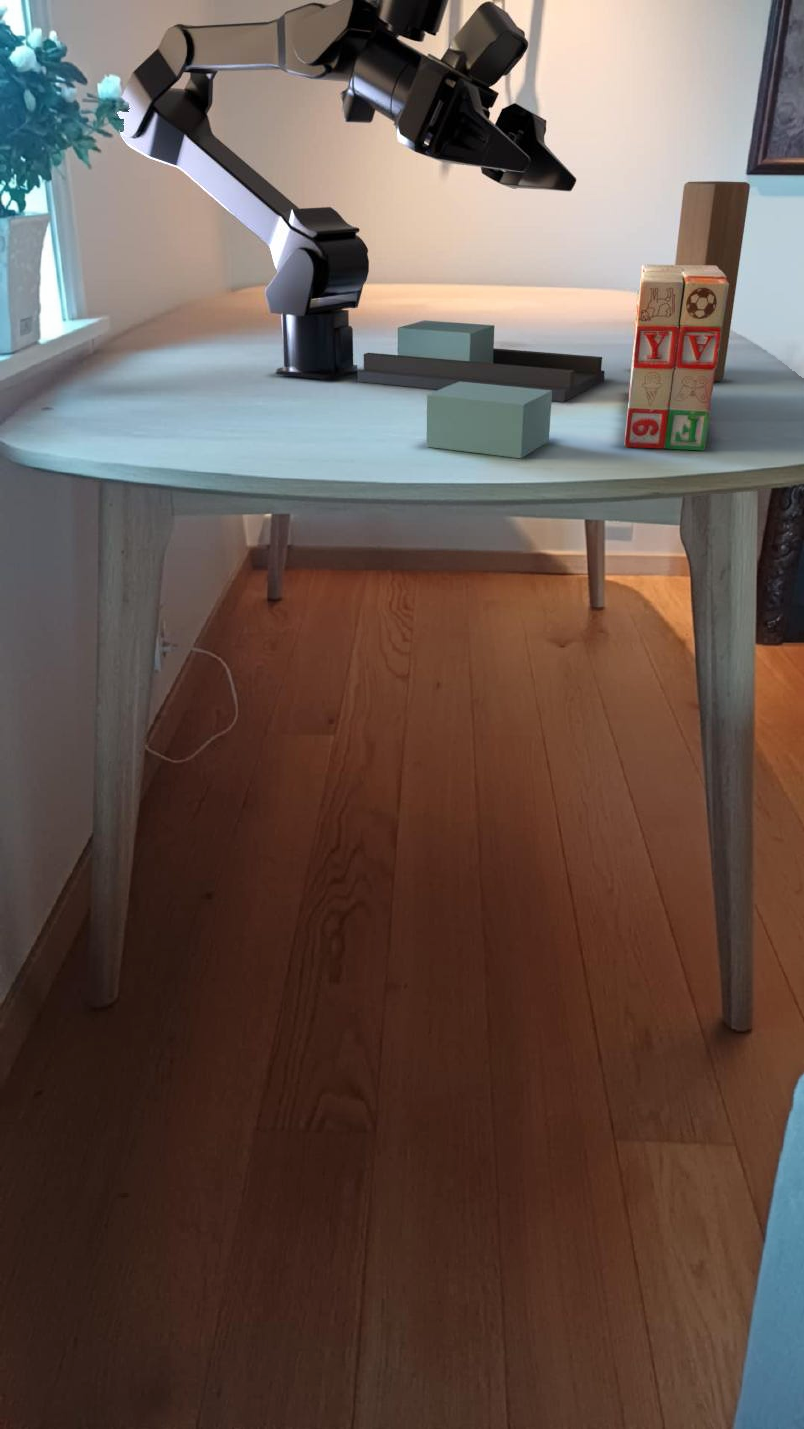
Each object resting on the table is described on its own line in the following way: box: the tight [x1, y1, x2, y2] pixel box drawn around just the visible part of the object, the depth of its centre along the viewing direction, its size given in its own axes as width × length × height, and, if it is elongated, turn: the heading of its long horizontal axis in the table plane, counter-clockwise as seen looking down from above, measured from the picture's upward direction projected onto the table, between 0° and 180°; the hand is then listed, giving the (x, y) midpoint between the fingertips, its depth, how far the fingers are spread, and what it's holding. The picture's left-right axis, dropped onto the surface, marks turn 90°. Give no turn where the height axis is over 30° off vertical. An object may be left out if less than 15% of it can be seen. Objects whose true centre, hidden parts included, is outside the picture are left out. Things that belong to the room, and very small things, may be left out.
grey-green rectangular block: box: [425, 382, 552, 459], centre depth 82 cm, size 8×6×4 cm
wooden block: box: [674, 180, 751, 382], centre depth 104 cm, size 9×4×18 cm, turn 27°
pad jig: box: [357, 320, 606, 403], centre depth 105 cm, size 22×12×5 cm, turn 63°
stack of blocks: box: [623, 263, 729, 451], centre depth 88 cm, size 21×6×12 cm, turn 168°
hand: (551, 176), depth 87 cm, fingers open, 9 cm apart
